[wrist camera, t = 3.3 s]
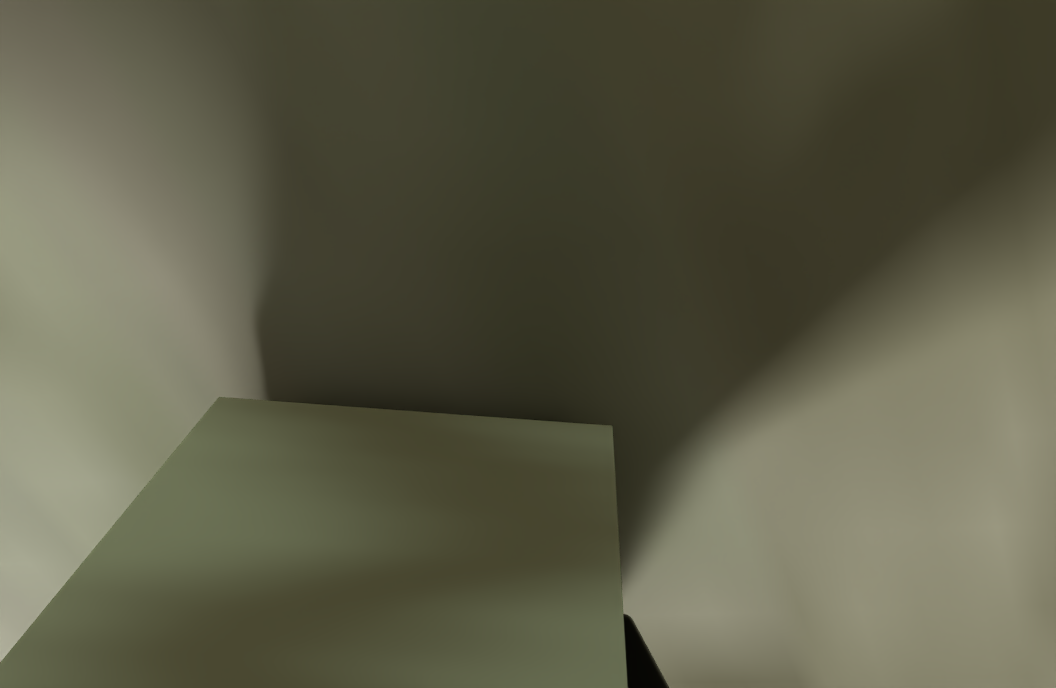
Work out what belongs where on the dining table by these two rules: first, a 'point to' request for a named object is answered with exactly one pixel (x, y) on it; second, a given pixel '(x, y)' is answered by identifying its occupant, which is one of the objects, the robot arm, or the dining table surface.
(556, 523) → the sage block
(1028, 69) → the dining table surface
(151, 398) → the dining table surface
